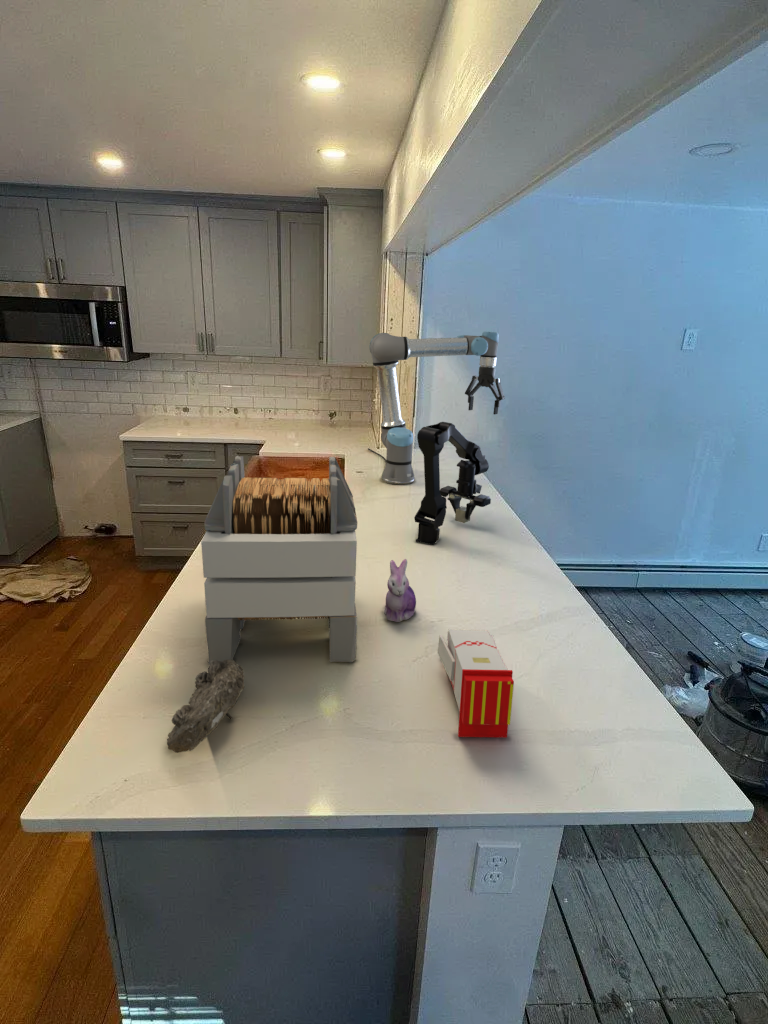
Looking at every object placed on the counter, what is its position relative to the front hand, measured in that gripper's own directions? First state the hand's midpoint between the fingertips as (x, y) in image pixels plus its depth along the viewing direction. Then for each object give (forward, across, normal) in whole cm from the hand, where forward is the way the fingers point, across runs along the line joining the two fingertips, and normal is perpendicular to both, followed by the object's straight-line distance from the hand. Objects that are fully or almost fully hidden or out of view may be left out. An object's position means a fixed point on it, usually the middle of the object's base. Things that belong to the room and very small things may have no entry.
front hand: (462, 518), depth 210 cm
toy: (+3, -53, +83) cm, 98 cm away
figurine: (+3, -23, +68) cm, 71 cm away
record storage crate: (+3, -5, +91) cm, 91 cm away
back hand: (-27, +34, -69) cm, 81 cm away
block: (+1, 0, 0) cm, 1 cm away
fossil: (+3, -20, +123) cm, 124 cm away
